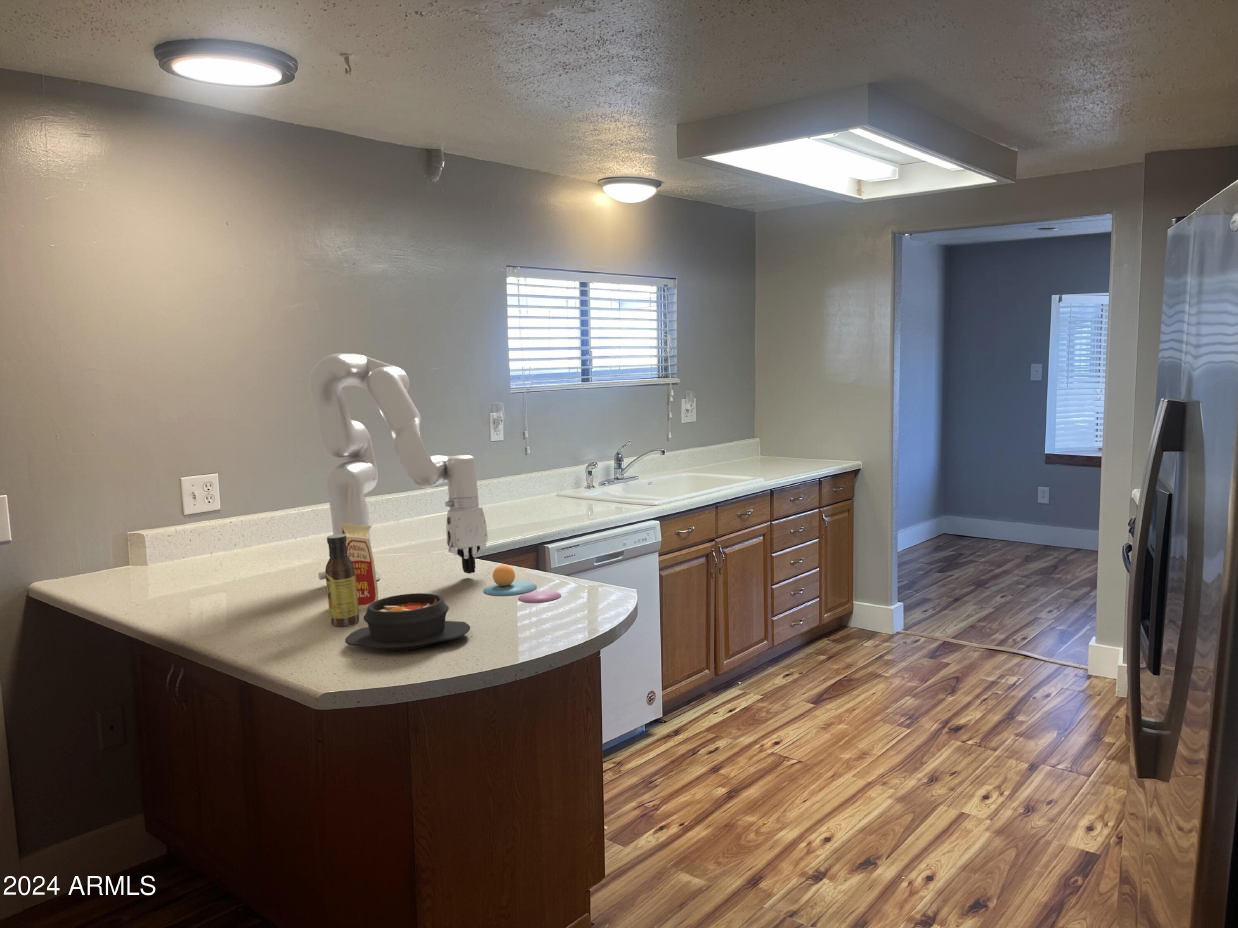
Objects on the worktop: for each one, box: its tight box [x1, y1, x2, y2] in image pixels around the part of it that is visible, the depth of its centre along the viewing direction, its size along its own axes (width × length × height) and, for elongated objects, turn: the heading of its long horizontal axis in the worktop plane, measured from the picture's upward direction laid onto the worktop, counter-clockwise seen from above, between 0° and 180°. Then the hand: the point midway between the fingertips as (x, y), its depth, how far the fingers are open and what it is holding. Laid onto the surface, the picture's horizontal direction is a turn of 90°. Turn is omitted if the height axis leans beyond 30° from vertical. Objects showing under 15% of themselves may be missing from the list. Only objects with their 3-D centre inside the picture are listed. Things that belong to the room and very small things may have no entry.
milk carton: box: [341, 523, 379, 609], centre depth 220 cm, size 9×9×20 cm
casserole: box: [344, 592, 471, 651], centre depth 187 cm, size 25×19×8 cm
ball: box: [492, 564, 516, 587], centre depth 230 cm, size 6×6×6 cm
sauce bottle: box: [324, 534, 360, 628], centre depth 203 cm, size 6×6×20 cm
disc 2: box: [518, 590, 562, 604], centre depth 218 cm, size 10×10×1 cm
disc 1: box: [483, 581, 538, 597], centre depth 227 cm, size 13×13×1 cm
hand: (469, 572), depth 241 cm, fingers closed
